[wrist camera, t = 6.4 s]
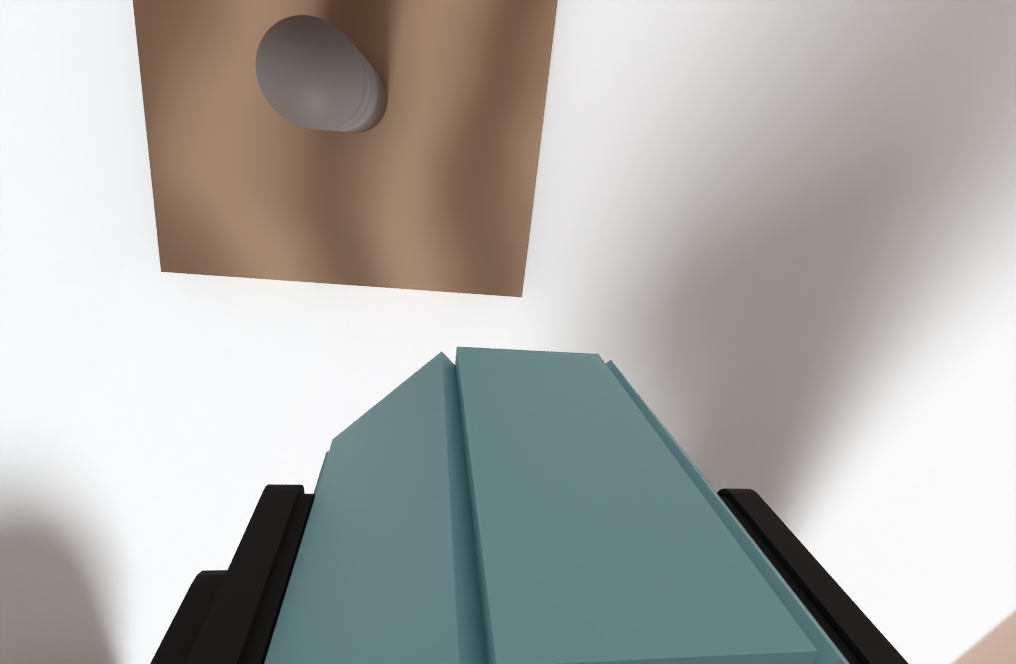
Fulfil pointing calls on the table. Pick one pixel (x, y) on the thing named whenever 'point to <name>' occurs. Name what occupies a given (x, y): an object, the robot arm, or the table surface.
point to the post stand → (346, 138)
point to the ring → (528, 533)
